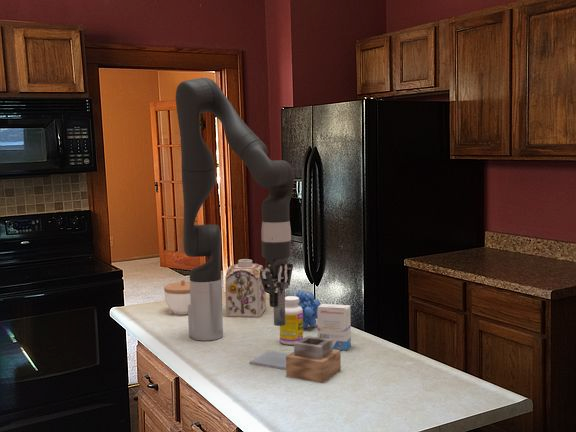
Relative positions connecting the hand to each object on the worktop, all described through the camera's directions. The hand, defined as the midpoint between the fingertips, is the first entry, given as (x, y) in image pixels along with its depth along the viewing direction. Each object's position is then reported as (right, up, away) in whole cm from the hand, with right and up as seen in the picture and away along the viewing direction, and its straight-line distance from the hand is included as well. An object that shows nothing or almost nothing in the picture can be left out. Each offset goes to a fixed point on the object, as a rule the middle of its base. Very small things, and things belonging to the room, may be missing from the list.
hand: (277, 304), depth 170 cm
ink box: (+16, -14, +13) cm, 24 cm away
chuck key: (+1, -5, 0) cm, 5 cm away
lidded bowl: (-33, -10, +54) cm, 64 cm away
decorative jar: (-11, -10, +51) cm, 53 cm away
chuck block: (+9, -16, -7) cm, 20 cm away
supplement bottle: (+4, -13, +18) cm, 23 cm away
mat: (0, -15, +2) cm, 15 cm away
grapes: (+8, -12, +30) cm, 34 cm away
